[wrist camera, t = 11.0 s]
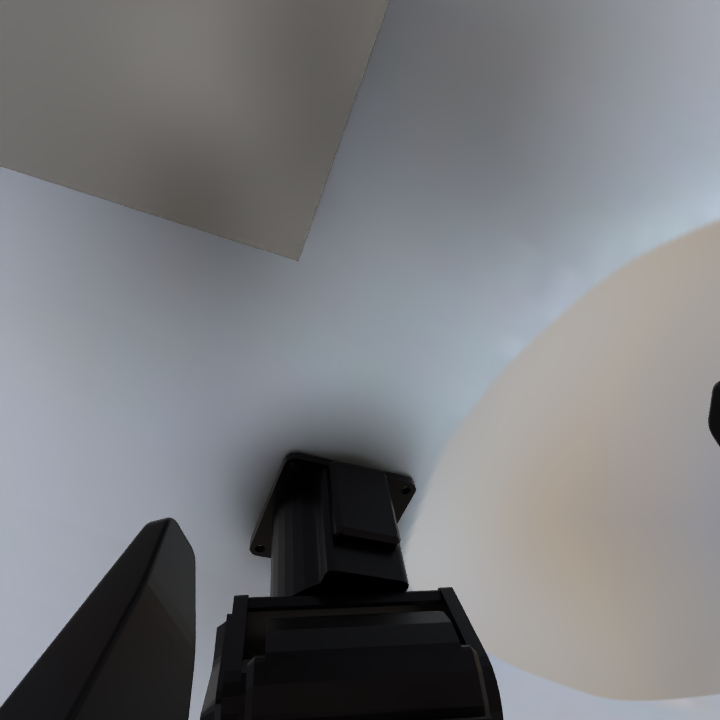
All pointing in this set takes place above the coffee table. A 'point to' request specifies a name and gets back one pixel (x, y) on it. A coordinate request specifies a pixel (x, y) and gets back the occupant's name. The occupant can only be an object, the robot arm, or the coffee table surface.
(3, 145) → the socket board
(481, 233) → the coffee table surface
